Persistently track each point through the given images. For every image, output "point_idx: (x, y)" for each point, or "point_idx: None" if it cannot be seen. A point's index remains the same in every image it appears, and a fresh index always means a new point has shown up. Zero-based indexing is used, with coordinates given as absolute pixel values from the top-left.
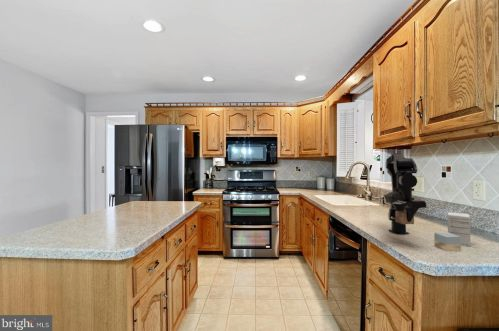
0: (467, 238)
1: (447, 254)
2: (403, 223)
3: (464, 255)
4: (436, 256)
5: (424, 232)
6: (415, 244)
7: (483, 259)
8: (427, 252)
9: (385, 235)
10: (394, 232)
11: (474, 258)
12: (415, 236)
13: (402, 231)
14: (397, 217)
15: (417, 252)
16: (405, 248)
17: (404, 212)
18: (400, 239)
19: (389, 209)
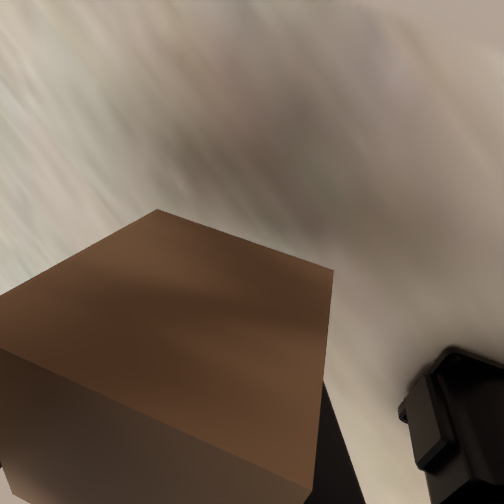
0: None
1: (46, 213)
2: (147, 215)
3: (37, 268)
4: (15, 121)
5: (363, 489)
6: (208, 224)
7: (2, 280)
8: (72, 138)
9: (500, 233)
10: (482, 360)
11: (8, 263)
12: (334, 386)
13: (420, 390)
14: (261, 301)
15: (73, 66)
16: (152, 56)
17: (29, 418)
18: (335, 240)
19: None
